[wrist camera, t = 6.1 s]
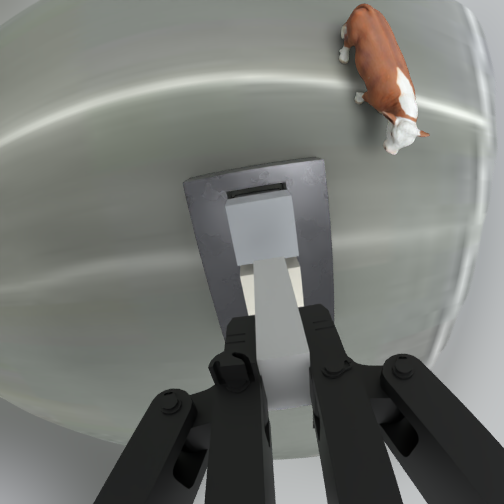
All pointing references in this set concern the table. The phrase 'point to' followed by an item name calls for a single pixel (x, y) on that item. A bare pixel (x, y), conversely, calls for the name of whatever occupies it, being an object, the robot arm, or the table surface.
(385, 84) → the bull figurine
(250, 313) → the cream key
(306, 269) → the keypad base
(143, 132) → the table surface
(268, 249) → the grey key
